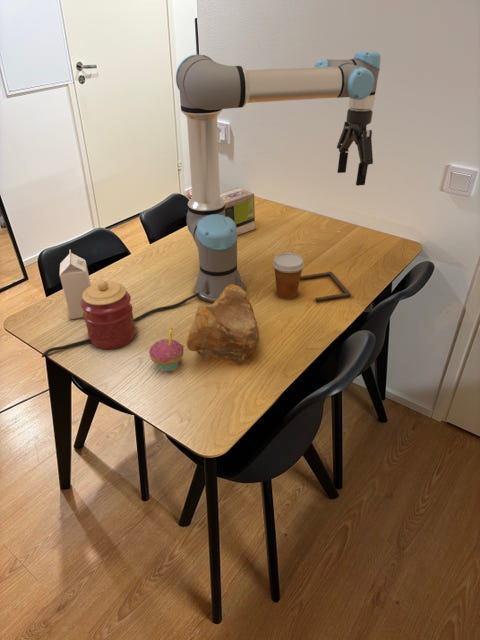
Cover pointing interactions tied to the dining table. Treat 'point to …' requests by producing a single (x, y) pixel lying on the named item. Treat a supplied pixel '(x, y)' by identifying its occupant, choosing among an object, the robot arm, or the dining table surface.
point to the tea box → (240, 209)
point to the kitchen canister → (108, 314)
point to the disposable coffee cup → (288, 274)
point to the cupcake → (166, 353)
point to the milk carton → (74, 283)
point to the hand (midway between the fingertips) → (350, 178)
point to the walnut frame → (336, 281)
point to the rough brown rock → (225, 327)
